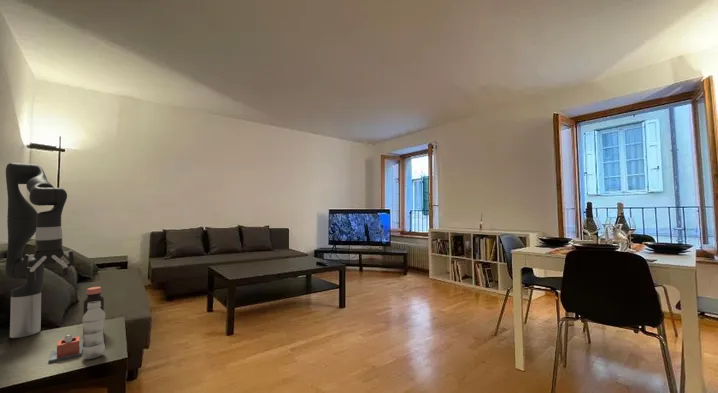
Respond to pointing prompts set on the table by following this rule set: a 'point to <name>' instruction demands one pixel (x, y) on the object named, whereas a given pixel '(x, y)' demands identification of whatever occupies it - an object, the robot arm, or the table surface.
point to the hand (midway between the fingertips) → (49, 278)
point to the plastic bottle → (93, 331)
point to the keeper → (54, 357)
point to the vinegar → (93, 299)
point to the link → (67, 346)
